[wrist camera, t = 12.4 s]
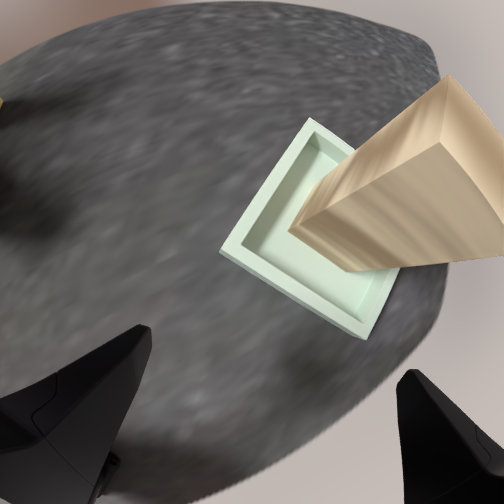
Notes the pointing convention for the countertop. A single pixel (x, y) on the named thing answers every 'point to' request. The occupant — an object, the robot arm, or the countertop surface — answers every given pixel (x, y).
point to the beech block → (413, 190)
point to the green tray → (298, 253)
